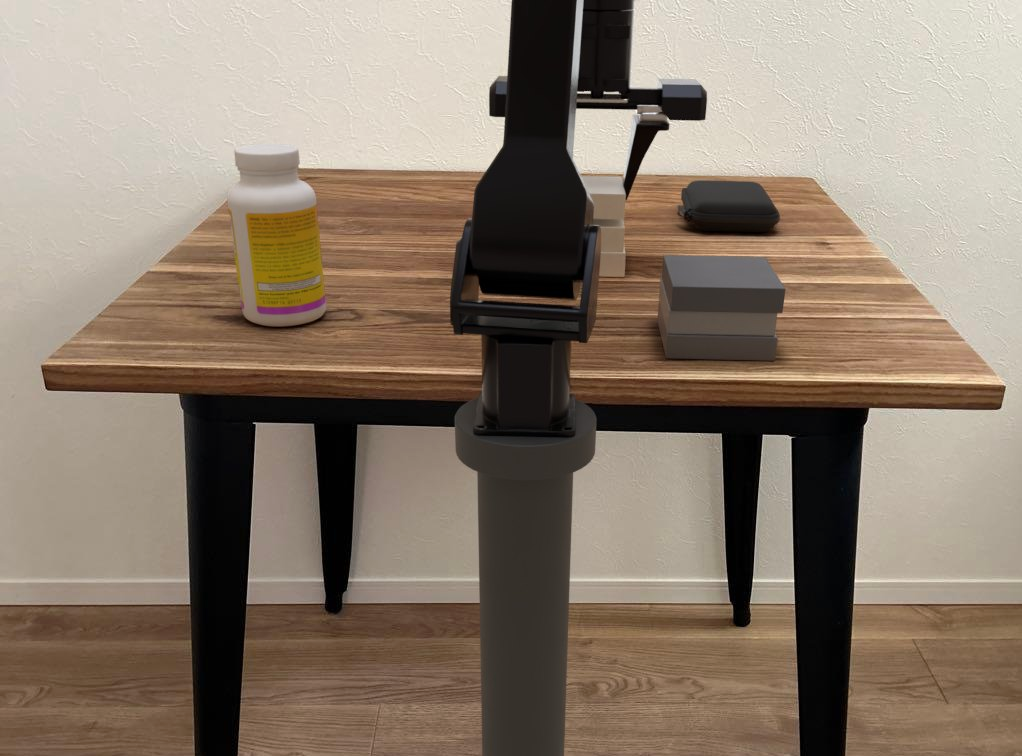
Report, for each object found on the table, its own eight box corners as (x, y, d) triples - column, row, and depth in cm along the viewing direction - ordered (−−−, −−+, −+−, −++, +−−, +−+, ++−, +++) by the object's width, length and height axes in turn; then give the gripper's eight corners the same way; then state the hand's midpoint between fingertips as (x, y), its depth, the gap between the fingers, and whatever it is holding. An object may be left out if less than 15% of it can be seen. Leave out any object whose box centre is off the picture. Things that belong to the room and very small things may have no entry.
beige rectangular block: (624, 219, 94) (625, 194, 93) (562, 218, 94) (563, 192, 93) (620, 200, 101) (621, 176, 100) (562, 199, 101) (563, 175, 100)
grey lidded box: (776, 361, 77) (785, 288, 75) (666, 358, 77) (671, 286, 75) (757, 324, 85) (765, 256, 82) (657, 322, 85) (661, 254, 82)
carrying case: (670, 203, 123) (678, 234, 110) (672, 176, 122) (680, 204, 109) (762, 205, 123) (780, 236, 110) (765, 178, 121) (784, 206, 108)
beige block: (624, 277, 96) (627, 228, 94) (558, 275, 96) (559, 226, 94) (620, 252, 104) (622, 206, 101) (559, 251, 104) (560, 205, 101)
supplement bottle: (343, 316, 85) (330, 148, 79) (274, 335, 81) (254, 159, 74) (294, 298, 89) (277, 137, 83) (226, 315, 85) (202, 147, 78)
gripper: (700, 6, 96) (686, 183, 104) (495, 2, 96) (496, 180, 104) (715, 13, 86) (698, 208, 94) (487, 9, 87) (489, 204, 94)
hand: (593, 199), depth 97 cm, fingers closed on beige rectangular block, 5 cm apart
